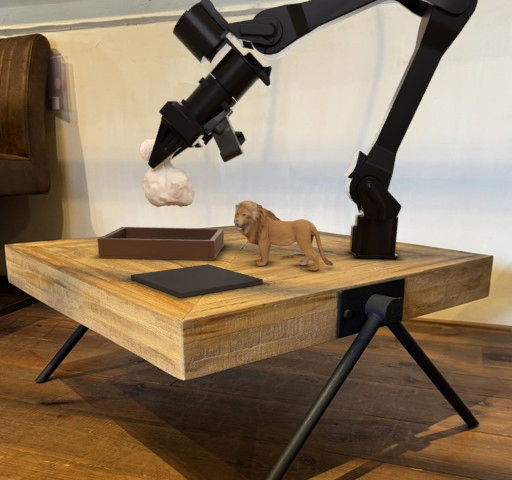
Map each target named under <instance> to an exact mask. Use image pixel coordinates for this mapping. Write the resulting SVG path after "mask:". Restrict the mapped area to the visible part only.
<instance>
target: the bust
mask: <svg viewBox="0 0 512 480" xmlns="http://www.w3.org/2000/svg"><path fill="white" fill-rule="evenodd" d="M155 139H156V137H155V138H151V139H150V138H146V139H145V140H144V141H142V143H141V144H140V147H139V152H140V156H141V158H142V160H143V161H145V162H148V161H149V158H150V155H151V152H152V149H153V146H154V143H155ZM173 155H174V154H172V155H171V156H170V157H168V158H167V159H166V160H165V161H163V162H162V163H161V164H159V165H158V166H157V167H155V168H154V169H152V168H151V167H150V166H149V169H148V170H147V171H146V173H145V174H144V177H143V182H142V183H143V185H142V186H143V191H144V197H145V198H146V199H147V201H148V203H149V204H151V205H152V206H154V207H156V208H160V207H165V206H166V207H169V206H173V207H174V206H175V207H176V206H177V207H181V208H183V207H188V206H190V205H192V204H193V203H194V197H195V186H194V184H193V182H192V180H191V178H190V176H189V175H188V173H187V172H186V171H185V170H183V169H180V168H177V167H175V166H174V164H173V163H172V160H171V158H172V156H173Z"/></svg>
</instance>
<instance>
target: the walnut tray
mask: <svg viewBox="0 0 512 480" xmlns="http://www.w3.org/2000/svg"><path fill="white" fill-rule="evenodd" d="M224 231H225V229H224V228H209V227H208V228H207V227H206V228H205V227H202V228H201V227H158V226H157V227H156V226H155V227H152V226H151V227H150V226H149V227H147V226H121V227H119V228H117V229H115V230H113V231H111V232H109V233H107V234H104V235H103V236H100V237H98V238H97V251H98V258H99V259H129V260H131V259H133V260H134V259H135V260H136V259H137V260H183V261H184V260H185V261H216V258H217V257H218V255H219V254H220V252H221V251H222V249H223V247H224V246H225V241H224V240H225V238H224V237H225V236H224V234H225V233H224Z"/></svg>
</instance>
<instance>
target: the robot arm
mask: <svg viewBox="0 0 512 480" xmlns="http://www.w3.org/2000/svg"><path fill="white" fill-rule="evenodd" d="M386 1H387V2H388V0H306V1H302V2H295V3H287V4H282V5H277V6H274V7H269V8H266V9H263V10H261V11H258V13H256V14H255V16H254V17H253V18H252V19H245V20H241V21H234V22H228V21H227V20H226V19H225V17H224V16H223V14H221V13H220V12H219V11H218V9H216V7H215V5H214V4H213V2H212V0H200V1H199V2H197V3H195V4H194V5H193V6H191V7H190V8H189V9H186V10H185V11H184V12H183V14H181V16H180V17H179V19H178V20H177V21H176V23H175V25H174V27H173V29H172V34H173V36H175V38H177V40H178V41H179V42H180V43H181V45H183V46H184V47H185V48H186V49H187V51H189V53H191V55H192V56H193V57H194V58H195V59H196V60H197V61H198V62H199V63H200V64H202V65H203V64H204V63H206V62H208V63H209V64H211V65H213V64H215V63H216V62H217V61H218V63H217V64H216V65H215V66H214V67H213V68H212V69H211V71H210V72H209V73H208V74H207V75H206V76H205V77H204V76H202V77H201V78H200V79H199V80H198V82H197V83H199V85H198V86H197V87H196V88H195V89H194V90H193V91H192V92H191V93H190V94H189V95H188V96H187V98H183V99H181V101H178V100H168V101H166V102H165V103H164V105H163V106H162V107H161V108H160V109H159V110H158V113H159V114H160V115H161V117H160V123H159V125H158V130H157V133H156V136H155V138H156V139H155V143H154V146H153V149H152V152H151V155H150V158H149V161H147V165H148V166H149V168H150V167H151V168H152V169H154V168H155V167H157V166H158V165H159V164H161V163H162V162H163V161H165V160H166V159H167V158H168V157H170V156H171V155H172V154H174V155H173V156H172V158H171V161H173V159H175V158H176V157H178V156H180V154H182V153H183V152H185V151H186V150H188V149H201V148H204V146H203V145H202V144H201V142H200V141H201V140H202V141H203V144H204V145H205V146H206V147H207V146H209V145H210V144H211V143H213V141H215V143H216V146H217V148H218V150H219V157H221V160H222V161H223V163H228V162H230V161H232V160H234V159H236V158H238V157H240V156H242V155H244V154H245V151H244V148H243V146H244V144H245V143H246V142H247V139H246V137H245V134H244V132H243V131H239V130H238V131H237V130H235V129H234V126H233V124H232V122H231V120H230V117H231V116H232V115H233V114H234V109H235V108H234V107H235V106H237V104H238V103H239V102H240V101H241V100H242V99H243V97H244V96H245V95H246V94H247V93H248V92H249V91H250V90H251V89H252V88H253V86H255V84H256V83H257V82H258V81H260V82H261V84H262V85H264V86H265V88H267V89H270V88H271V86H272V83H271V82H272V81H271V79H272V78H271V76H272V73H273V67H272V65H268V66H265V65H263V64H262V63H261V61H259V60H258V58H257V57H255V56H254V54H253V53H252V52H251V51H254V53H255V54H256V55H257V56H258V57H259V58H261V59H262V60H265V61H269V62H273V61H277V60H279V59H281V58H282V57H284V56H285V55H287V54H288V53H289V52H291V51H293V50H294V49H295V48H297V47H298V46H299V45H301V44H302V43H303V42H305V41H306V40H307V39H309V38H310V37H312V36H313V35H314V34H316V33H317V32H319V31H322V30H324V29H326V28H329V27H331V26H333V25H336V24H337V23H339V22H342V21H344V20H346V19H348V18H351V17H353V16H355V15H357V14H360V13H362V12H364V11H366V10H368V9H371V8H373V7H375V6H377V5H380V4H382V3H384V2H386ZM392 1H393V2H395V3H397V4H398V5H400V6H401V7H402V8H404V9H405V10H407V11H408V12H409V13H411V14H412V15H414V16H415V17H418V18H420V22H419V25H418V26H419V27H418V30H417V35H416V41H415V45H414V50H413V52H412V55H411V56H410V59H409V61H408V63H407V65H406V68H405V70H404V72H403V74H402V77H401V78H400V81H399V82H398V85H397V87H396V89H395V92H394V94H393V96H392V98H391V100H390V102H389V104H388V107H387V109H386V111H385V114H384V115H383V118H382V120H381V122H380V124H379V127H378V128H377V131H376V133H375V135H374V136H373V137H374V138H373V140H372V142H371V143H370V145H368V147H367V149H366V150H365V151H364V152H363V151H362V150H354V152H353V155H352V160H351V164H350V166H349V167H348V169H347V171H345V172H344V174H343V176H344V177H346V180H345V183H344V190H345V193H346V195H347V197H348V198H349V200H350V201H351V202H353V203H354V204H355V205H356V208H357V211H358V213H356V214H355V215H354V216H355V217H354V223H351V225H350V236H349V251H350V252H351V254H353V256H354V258H356V259H398V256H399V255H398V254H397V253H396V249H397V240H398V239H397V237H398V227H399V226H398V225H399V214H400V212H401V209H402V204H401V203H400V202H399V201H398V200H397V199H396V198H395V197H394V196H393V195H392V193H391V192H390V191H389V189H390V185H391V182H392V178H393V175H394V170H395V163H396V158H397V154H398V151H399V148H400V147H401V144H402V143H403V140H404V138H405V137H406V134H407V132H408V129H409V128H410V125H411V123H412V121H413V119H414V117H415V115H416V113H417V111H418V109H419V106H420V104H421V102H422V100H423V98H424V96H425V94H426V92H427V90H428V87H429V85H430V84H431V82H432V79H433V77H434V75H435V73H436V70H437V68H438V66H439V64H440V62H441V60H442V59H443V57H444V55H445V54H446V52H447V51H448V49H449V48H450V47H451V46H452V44H453V43H454V42H455V41H456V39H457V38H458V37H459V35H460V34H461V32H462V31H463V29H464V28H465V26H466V25H467V24H468V22H469V21H470V19H471V18H472V16H473V14H474V13H475V11H476V9H477V6H478V4H479V0H392ZM231 40H234V41H235V43H236V44H237V45H238V46H239V47H240V48H242V49H245V50H246V49H247V50H251V51H248V52H246V53H244V54H243V53H242V52H241V51H240V50H239V49H238V48H237V47H236V45H234V43H233V42H232V41H231ZM228 48H230V49H229V50H227V49H228ZM226 51H228V52H227V53H226V54H225V55H224V53H225V52H226ZM222 56H223V57H222ZM221 57H222V58H221ZM220 58H221V59H220ZM219 59H220V61H219Z"/></svg>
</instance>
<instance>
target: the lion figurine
mask: <svg viewBox="0 0 512 480" xmlns="http://www.w3.org/2000/svg"><path fill="white" fill-rule="evenodd" d="M234 207H235V211H234V219H233V225H234V227H235V228H236V230H237V231H238V233H240V234H241V236H243V237H245V238H246V239H247V242H248V243H250V244H252V245H257V247H258V251H259V255H260V258H259V260H258V261H256V266H258V267H263V266H266V265H267V263H268V262H269V259H270V252H271V245H272V246H277V247H287V246H291V245H293V244H295V243H296V244H297V245H298V247H299V248H300V250H301V251H302V252H303V253H304V258H303V259H300V260H299V261H298V265H299V266H307V265H308V264H309V262H310V260H311V261H312V264H310V265H309V266H308V269H309V271H318V270H319V267H320V260H319V255H320V258H321V260H322V261H323V263H324V264H325V265H327V266H331V267H332V266H334V263H333V262H332V261H330V260H329V259H328V258H326V256H325V255H324V250H323V246H322V245H323V244H322V240H321V235H320V234H319V230H318V229H317V227H316V226H315V224H314V223H313V222H312V221H309V220H307V219H304V218H301V219H296V220H281V219H280V218H278V217H277V216H276V215H275V213H274V212H273V211H271V210H269V209H267V208H264V207H263V206H262V205H261V204H259V203H257V202H254V201H252V200H243V201H240V202H238V204H235V206H234ZM314 239H315V243H316V245H317V249H318V252H319V254H318V252H317V251H316V250H315V249H314V246H313V242H314Z"/></svg>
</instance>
